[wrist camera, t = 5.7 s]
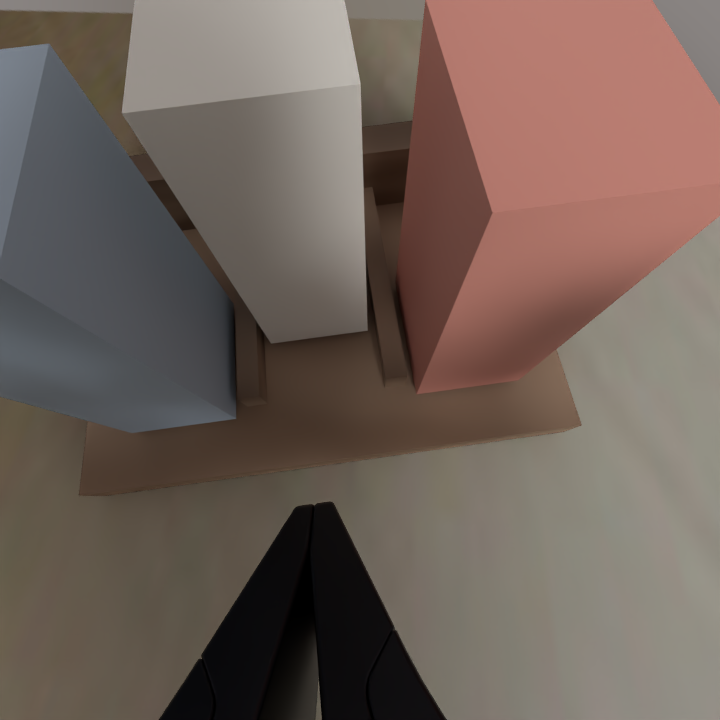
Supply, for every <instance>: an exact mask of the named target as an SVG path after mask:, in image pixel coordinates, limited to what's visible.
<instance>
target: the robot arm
mask: <svg viewBox="0 0 720 720" xmlns="http://www.w3.org/2000/svg"><path fill="white" fill-rule="evenodd" d="M201 657H202V659H198V661H197V662H196V664H195V665H194V667H193V669H192V670H191V672H190V673H189V675H188V676H187V678H186V680H185V681H184V683H183V684H182V686H181V687H180V689H179V690H178V692H177V693H176V695H175V696H174V698H173V699H172V701H171V702H170V704H169V705H168V707H167V708H166V710H165V711H164V713H163V714H162V716H161V717H160V718H159V720H315V716H316V703H317V691H318V678H319V685H320V699H321V712H322V720H447V719H446V718H445V716H444V715H443V713H442V712H441V710H440V708H439V707H438V705H437V703H436V702H435V700H434V698H433V697H432V695H431V694H430V692H429V690H428V689H427V687H426V685H425V684H424V682H423V680H422V679H421V677H420V675H419V673H418V671H417V669H416V667H415V666H414V664H413V662H412V660H411V658H410V656H409V654H408V652H407V651H406V649H405V647H404V645H403V643H402V641H401V639H400V637H399V634H398V632H397V631H396V630H395V627H394V625H393V623H392V621H391V619H390V617H389V615H388V613H387V611H386V609H385V606H384V604H383V602H382V600H381V598H380V596H379V594H378V592H377V590H376V588H375V586H374V584H373V582H372V580H371V578H370V576H369V574H368V572H367V570H366V568H365V566H364V564H363V562H362V560H361V558H360V556H359V554H358V552H357V550H356V548H355V546H354V544H353V541H352V539H351V537H350V535H349V533H348V531H347V529H346V527H345V525H344V523H343V521H342V519H341V517H340V515H339V513H338V511H337V509H336V507H335V505H334V503H333V502H324V503H317V504H316V505H315V506H314V505H312V504H309V505H302V506H297V507H296V508H295V509H294V510H293V512H292V513H291V515H290V516H289V518H288V520H287V521H286V523H285V524H284V526H283V527H282V529H281V531H280V532H279V534H278V535H277V537H276V538H275V540H274V542H273V543H272V545H271V546H270V548H269V549H268V551H267V553H266V554H265V556H264V557H263V559H262V560H261V562H260V564H259V565H258V567H257V568H256V570H255V571H254V573H253V575H252V576H251V578H250V579H249V581H248V582H247V584H246V586H245V587H244V589H243V590H242V592H241V593H240V595H239V597H238V598H237V600H236V601H235V603H234V604H233V606H232V608H231V609H230V611H229V612H228V614H227V615H226V617H225V619H224V620H223V622H222V623H221V625H220V626H219V628H218V630H217V631H216V633H215V634H214V636H213V637H212V639H211V641H210V642H209V644H208V645H207V647H206V648H205V650H204V652H203V653H202V655H201Z"/></svg>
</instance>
